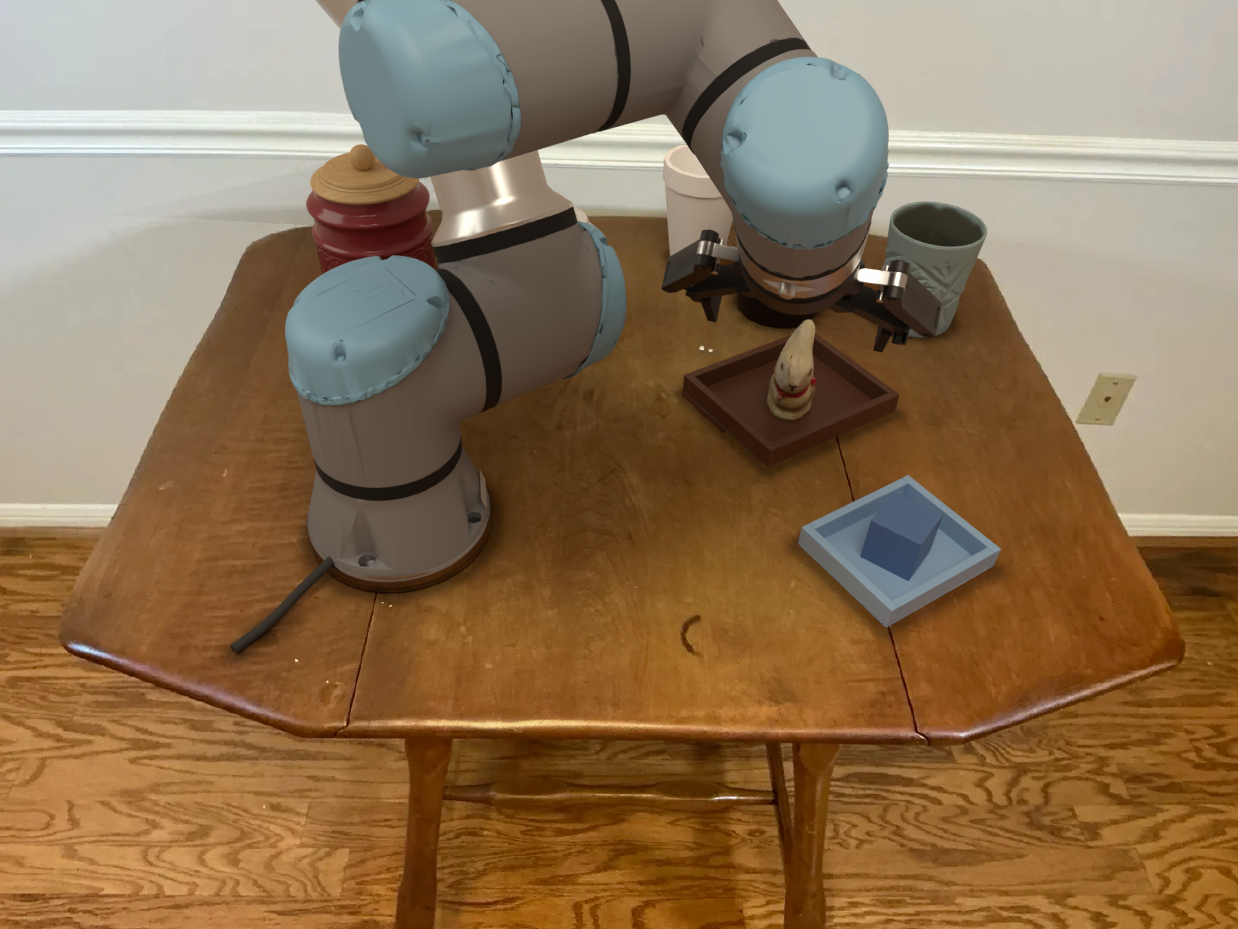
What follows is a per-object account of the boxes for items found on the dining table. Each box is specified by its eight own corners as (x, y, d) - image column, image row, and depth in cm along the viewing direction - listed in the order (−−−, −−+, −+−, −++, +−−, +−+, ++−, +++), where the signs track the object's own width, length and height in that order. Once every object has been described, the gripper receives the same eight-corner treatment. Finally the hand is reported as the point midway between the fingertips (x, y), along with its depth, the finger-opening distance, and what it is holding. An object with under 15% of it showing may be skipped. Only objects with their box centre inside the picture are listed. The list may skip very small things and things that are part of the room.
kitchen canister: (304, 289, 109) (271, 141, 98) (400, 253, 116) (381, 110, 104) (363, 338, 102) (336, 185, 91) (462, 297, 109) (448, 150, 97)
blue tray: (884, 632, 75) (891, 611, 73) (796, 547, 81) (801, 526, 79) (992, 570, 80) (1001, 549, 78) (901, 495, 86) (908, 474, 85)
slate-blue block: (908, 581, 78) (921, 545, 75) (860, 557, 80) (870, 520, 77) (930, 551, 81) (943, 514, 78) (882, 527, 82) (894, 491, 80)
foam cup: (651, 244, 120) (657, 144, 111) (722, 239, 121) (733, 141, 112) (667, 283, 113) (675, 180, 104) (742, 278, 114) (755, 175, 106)
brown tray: (766, 471, 88) (770, 450, 87) (682, 394, 97) (683, 374, 95) (894, 414, 95) (900, 394, 94) (805, 347, 104) (808, 327, 102)
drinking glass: (945, 296, 112) (974, 202, 104) (967, 345, 105) (999, 248, 97) (860, 293, 112) (882, 199, 104) (876, 341, 105) (901, 244, 97)
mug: (841, 335, 106) (857, 264, 100) (734, 324, 107) (743, 252, 101) (839, 291, 113) (854, 222, 107) (738, 281, 114) (747, 211, 108)
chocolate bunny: (744, 406, 95) (757, 322, 88) (788, 373, 99) (804, 290, 92) (790, 431, 92) (807, 346, 85) (833, 395, 96) (853, 312, 90)
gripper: (587, 265, 59) (639, 337, 79) (1004, 338, 54) (943, 394, 75) (614, 149, 59) (659, 250, 80) (1030, 211, 54) (963, 302, 75)
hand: (796, 320), depth 77 cm, fingers open, 13 cm apart
